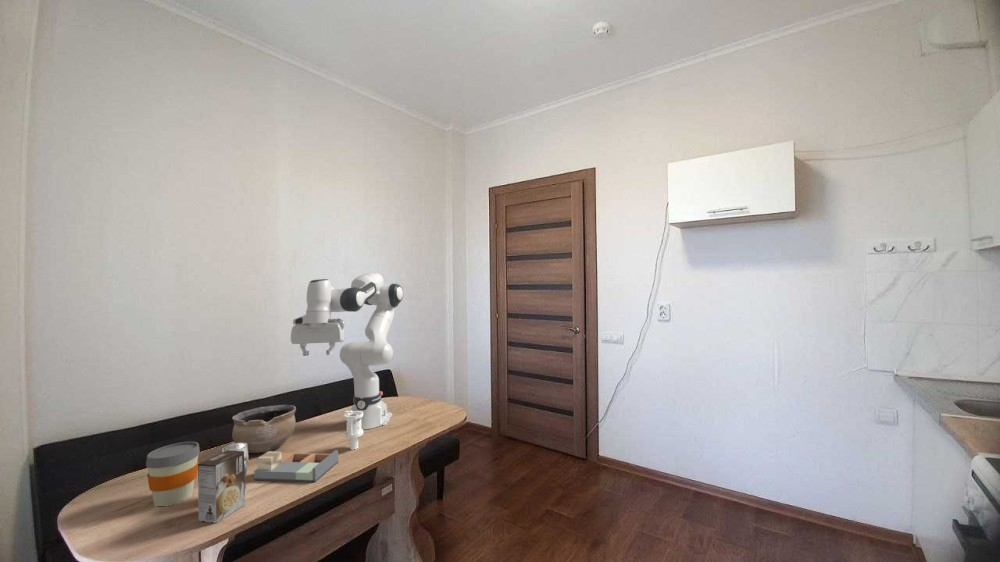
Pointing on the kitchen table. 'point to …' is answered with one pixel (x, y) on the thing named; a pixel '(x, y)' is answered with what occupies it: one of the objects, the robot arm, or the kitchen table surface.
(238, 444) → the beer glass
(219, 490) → the coffee box
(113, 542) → the kitchen table surface
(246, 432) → the ceramic bowl
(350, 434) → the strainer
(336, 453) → the board
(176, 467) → the reusable coffee cup
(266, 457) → the birch block
